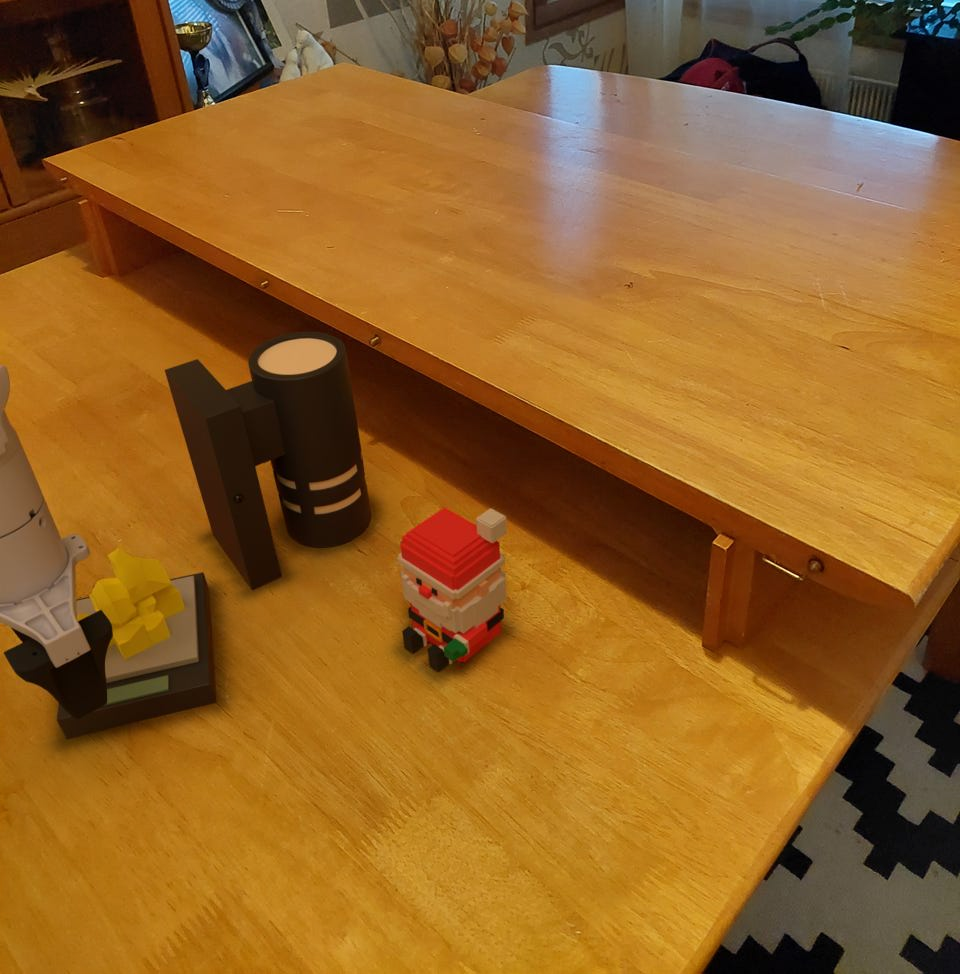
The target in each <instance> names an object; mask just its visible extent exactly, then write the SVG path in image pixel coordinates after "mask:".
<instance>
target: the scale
mask: <svg viewBox="0 0 960 974" xmlns="http://www.w3.org/2000/svg"><path fill="white" fill-rule="evenodd" d="M169 579H170V581H171V583H172V584H173V585H174V587H175V588H176V589H177V590H179V591H180V594H181V597H182V600H183V603H184V606H185V610H183V611H181V612H179V613H177V614H175V615H173V616H171V617H169V618H167V619H165V621H166V624H167V626H168V629H169V632H170V635H171V637H169V638H167V639H165V640H163V641H161V642H159V643H157V644H155V645H153V646H152V647H150V648H148V649H146V650H144V651H142V652H140V653H138V654H136V655H134V656H132V657H130V658H128V659H126V660H125V659H124V657H123V656H122V654H121V653H120V651H119V649H118V648H117V646H116V645H115V644H114V645H112V646H110V647H108V649H107V653H106V659H105V674H106V683H107V703H106V704H105V705H104V706H102V707H100V708H98V709H97V710H95V711H93V712H91V713H90V714H88V715H86V716H84V717H82V718H81V719H79V720H76V719H75V718H73V717H72V716H71V715H70V714H69V713H68V712H67V711H66V710H65V709H64V708H63V707H62V706H61V705H60V704H59V703H58V705H57V712H56V722H57V724H58V726H59V728H60V730H61V731H62V733H63V735H64V738H65V739H71V738H75V737H79V736H83V735H87V734H91V733H96V732H100V731H105V730H108V729H112V728H116V727H117V728H118V727H121V726H125V725H129V724H133V723H137V722H142V721H146V720H150V719H154V718H159V717H162V716H167V715H171V714H175V713H179V712H183V711H188V710H192V709H195V708H200V707H204V706H208V705H212V704H216V703H217V691H216V674H215V659H214V645H213V644H214V643H213V642H214V641H213V629H212V615H211V614H212V613H211V598H210V597H211V595H210V588H209V585H208V582H207V579H206V576H205V573H204V572H203V571H202V572H198V573H193V574H187V575H183V576H179V577H175V578H169ZM76 604H77V617H78V615H79V614H80V613H83V614H90V615H91V614H93V613H95V612H96V611H95V608H94V606H93V604H92V601H91V599H90V597H89V596H86V597H82V598H76Z"/></svg>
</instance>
